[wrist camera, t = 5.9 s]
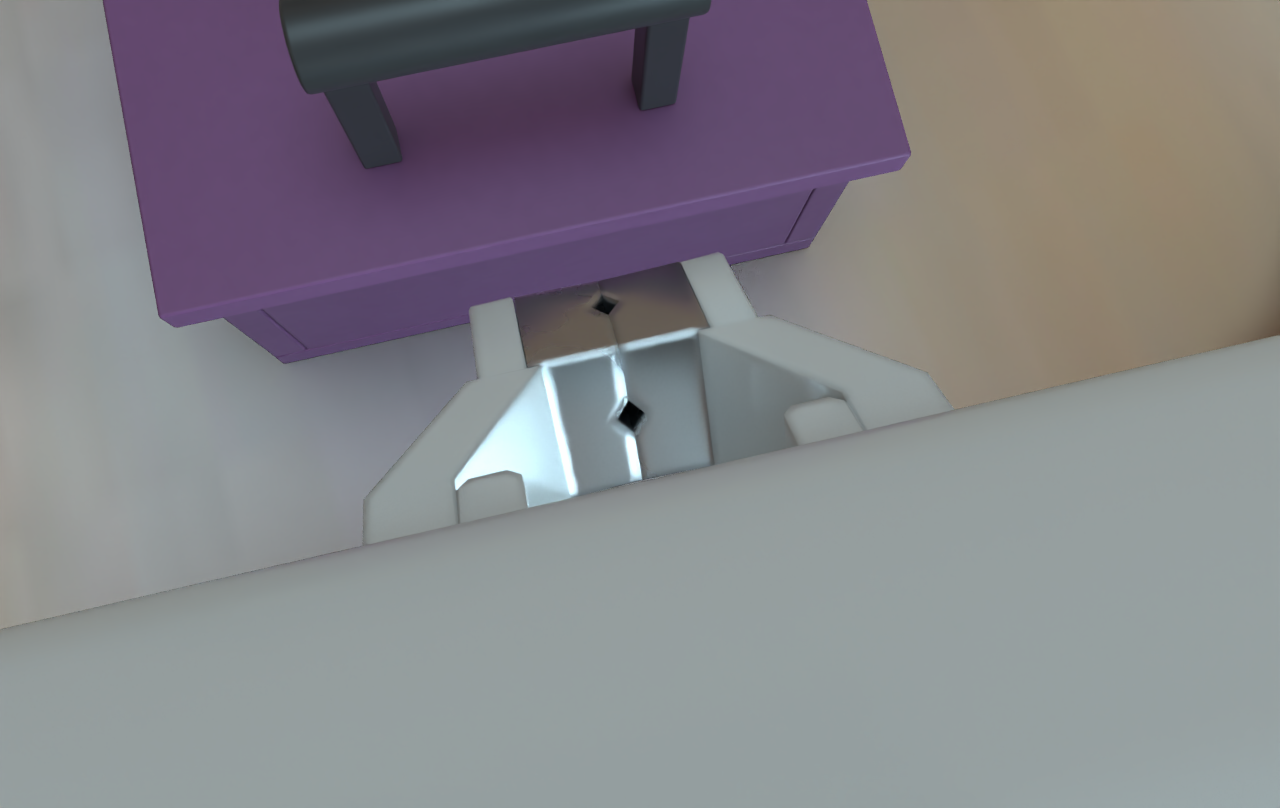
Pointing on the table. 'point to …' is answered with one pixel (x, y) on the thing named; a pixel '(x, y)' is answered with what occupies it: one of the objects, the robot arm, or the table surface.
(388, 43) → the folder lid
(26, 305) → the table surface
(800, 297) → the table surface
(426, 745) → the robot arm
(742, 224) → the drawer box
